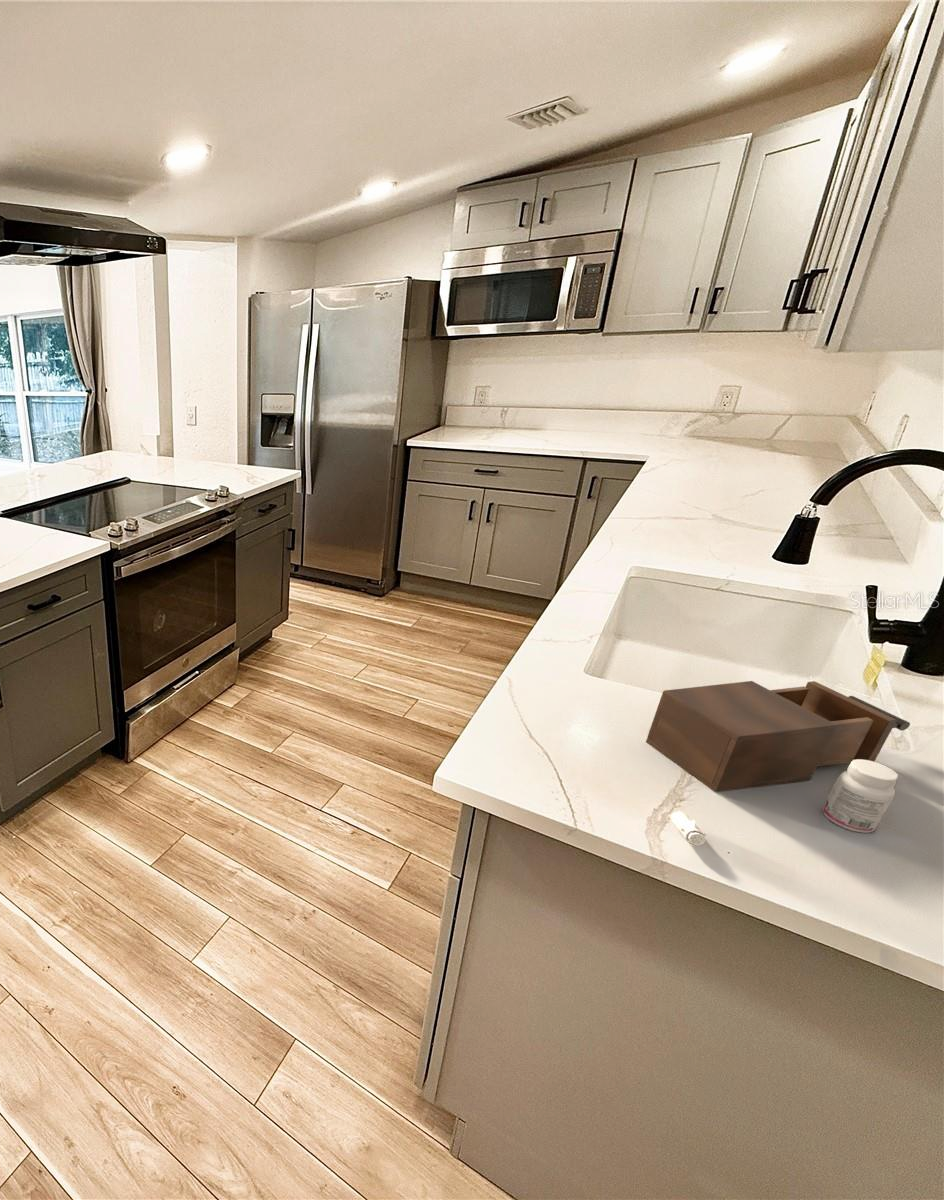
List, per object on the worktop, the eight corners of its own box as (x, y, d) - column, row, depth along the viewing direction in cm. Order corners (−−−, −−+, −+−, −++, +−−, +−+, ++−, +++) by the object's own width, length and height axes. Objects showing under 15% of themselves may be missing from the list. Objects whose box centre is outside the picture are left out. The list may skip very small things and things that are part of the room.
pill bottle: (833, 803, 83) (859, 753, 79) (882, 826, 79) (912, 775, 75) (813, 813, 81) (838, 763, 78) (862, 838, 77) (891, 786, 74)
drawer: (828, 718, 98) (848, 677, 94) (909, 760, 88) (934, 715, 85) (716, 731, 96) (733, 689, 93) (786, 775, 87) (808, 730, 84)
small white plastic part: (706, 828, 80) (713, 810, 79) (699, 855, 76) (707, 836, 75) (671, 815, 83) (678, 797, 81) (663, 840, 79) (670, 821, 78)
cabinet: (730, 731, 97) (751, 680, 94) (810, 780, 87) (837, 725, 83) (645, 741, 96) (663, 690, 93) (715, 792, 86) (738, 736, 82)
